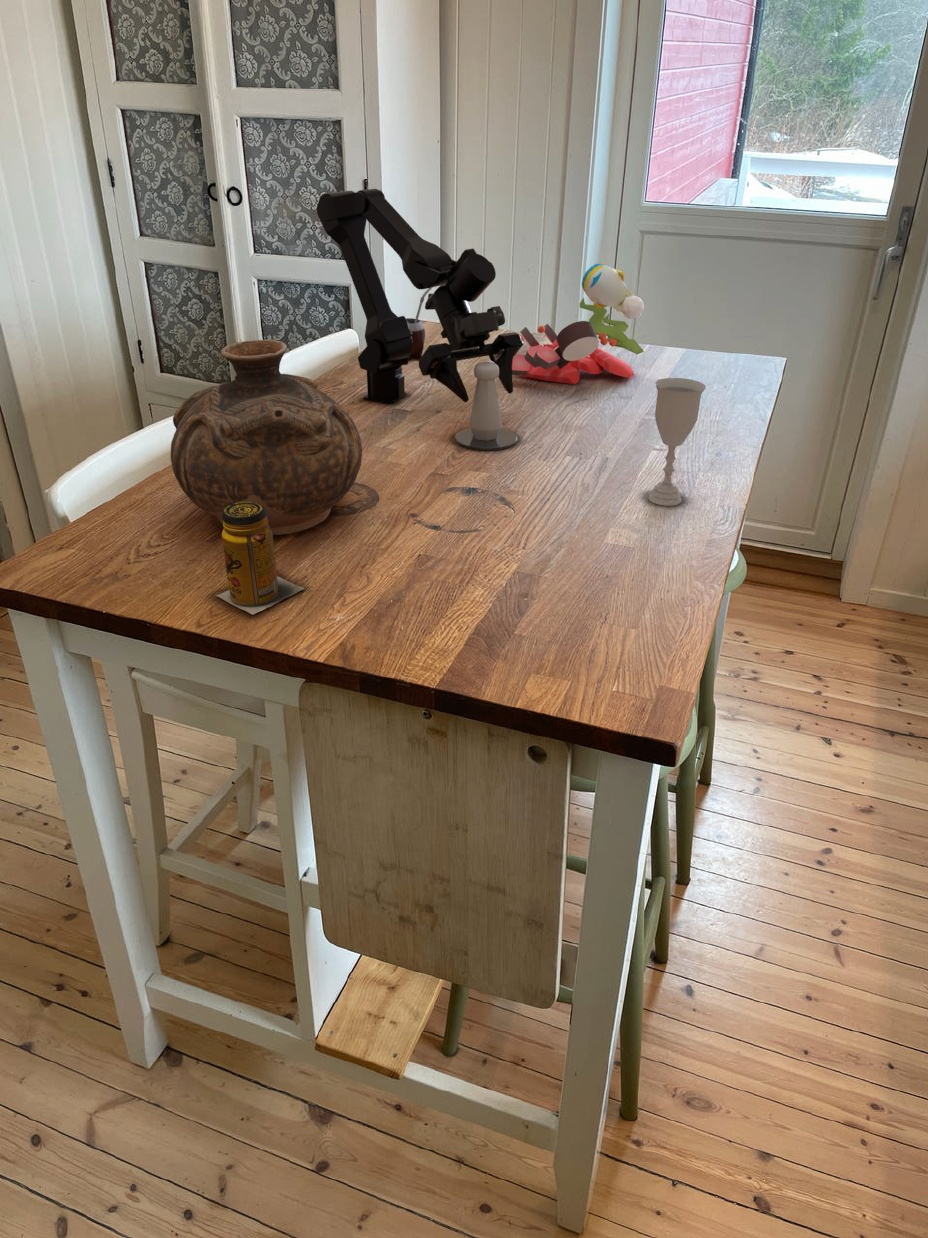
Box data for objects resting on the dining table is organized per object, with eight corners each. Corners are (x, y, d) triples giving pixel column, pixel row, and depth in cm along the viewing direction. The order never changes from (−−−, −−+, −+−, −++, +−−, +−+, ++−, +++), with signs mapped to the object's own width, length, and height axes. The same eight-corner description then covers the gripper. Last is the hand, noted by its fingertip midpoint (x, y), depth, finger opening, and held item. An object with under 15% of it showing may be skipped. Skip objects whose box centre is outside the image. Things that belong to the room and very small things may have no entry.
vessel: (287, 573, 123) (257, 384, 111) (142, 533, 136) (101, 361, 124) (406, 500, 143) (392, 333, 130) (269, 471, 156) (244, 317, 143)
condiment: (215, 596, 118) (203, 509, 112) (268, 572, 124) (259, 488, 118) (252, 616, 114) (241, 527, 108) (305, 590, 120) (297, 504, 114)
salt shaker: (502, 431, 169) (505, 359, 162) (500, 442, 164) (503, 369, 157) (470, 430, 169) (471, 358, 163) (467, 441, 165) (468, 367, 158)
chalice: (691, 493, 147) (708, 381, 138) (685, 511, 142) (703, 394, 133) (645, 487, 149) (658, 375, 140) (637, 503, 144) (651, 388, 135)
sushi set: (546, 412, 183) (465, 341, 192) (605, 433, 208) (531, 370, 217) (639, 284, 172) (549, 216, 181) (689, 323, 198) (608, 262, 207)
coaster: (445, 444, 164) (445, 442, 164) (469, 425, 173) (469, 422, 173) (503, 454, 161) (503, 452, 160) (525, 434, 169) (525, 431, 169)
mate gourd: (388, 359, 209) (386, 289, 201) (403, 350, 215) (402, 282, 207) (419, 363, 206) (418, 292, 199) (433, 354, 213) (433, 285, 205)
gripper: (426, 296, 153) (461, 381, 151) (519, 284, 162) (554, 364, 159) (403, 334, 163) (436, 414, 160) (493, 321, 171) (525, 396, 169)
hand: (489, 396), depth 162 cm, fingers open, 9 cm apart
